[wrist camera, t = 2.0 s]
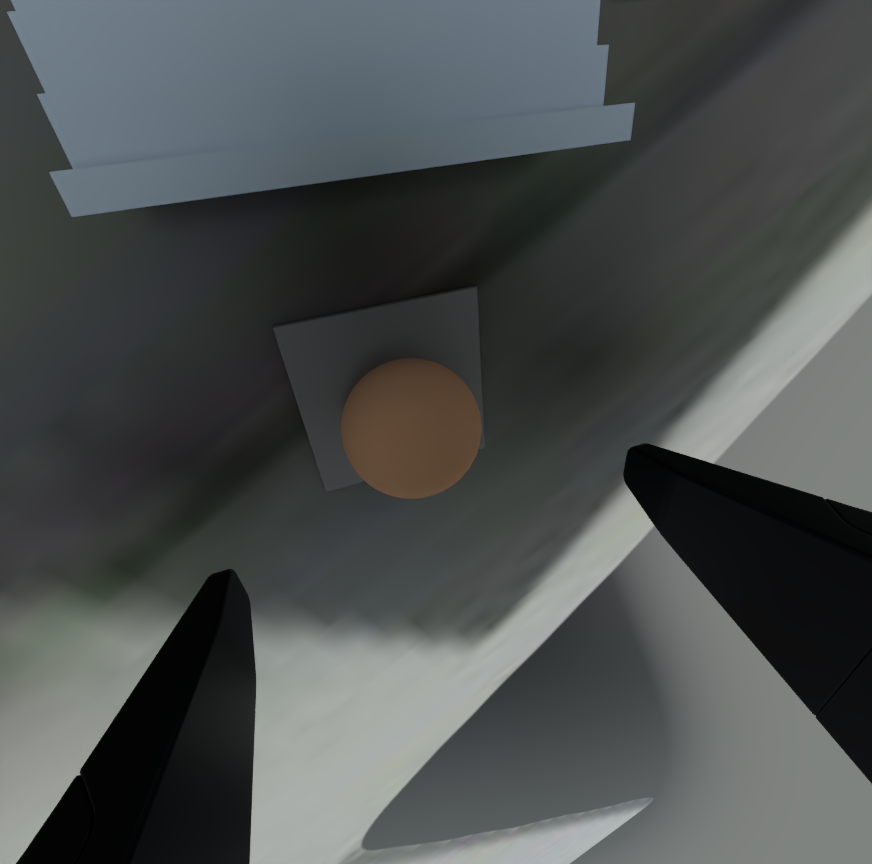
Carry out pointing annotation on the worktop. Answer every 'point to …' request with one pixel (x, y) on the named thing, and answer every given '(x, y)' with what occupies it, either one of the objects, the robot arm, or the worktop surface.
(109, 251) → the worktop surface
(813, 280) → the worktop surface
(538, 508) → the worktop surface
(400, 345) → the tee mat
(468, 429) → the rubber ball
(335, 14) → the staircase
